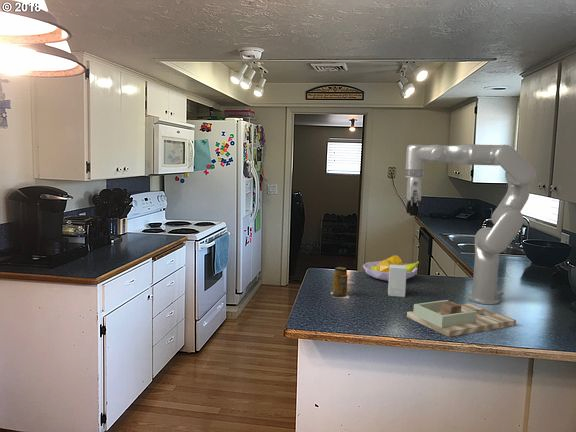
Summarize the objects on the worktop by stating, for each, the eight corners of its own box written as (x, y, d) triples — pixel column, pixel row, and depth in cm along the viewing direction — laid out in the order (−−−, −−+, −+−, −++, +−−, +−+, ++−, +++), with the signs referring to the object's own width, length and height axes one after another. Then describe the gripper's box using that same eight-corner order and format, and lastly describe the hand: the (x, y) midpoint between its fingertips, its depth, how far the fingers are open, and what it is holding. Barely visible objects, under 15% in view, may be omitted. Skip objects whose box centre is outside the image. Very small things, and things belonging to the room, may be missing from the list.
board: (469, 308, 198) (470, 303, 198) (515, 325, 178) (516, 320, 178) (406, 317, 184) (407, 311, 184) (448, 337, 165) (449, 331, 164)
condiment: (346, 293, 215) (347, 266, 214) (349, 298, 207) (350, 270, 206) (330, 292, 215) (331, 266, 214) (332, 298, 207) (333, 270, 205)
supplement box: (405, 297, 211) (407, 268, 210) (387, 295, 213) (389, 267, 211) (404, 292, 218) (406, 265, 217) (387, 291, 220) (389, 263, 218)
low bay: (446, 310, 188) (446, 299, 187) (476, 322, 174) (477, 311, 174) (413, 314, 181) (413, 304, 181) (441, 327, 168) (442, 316, 167)
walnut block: (450, 314, 182) (451, 301, 182) (460, 318, 178) (461, 305, 177) (440, 316, 180) (441, 303, 180) (450, 320, 176) (451, 307, 175)
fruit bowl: (351, 275, 249) (352, 253, 247) (392, 270, 262) (393, 249, 261) (388, 288, 225) (389, 264, 223) (431, 282, 238) (432, 259, 236)
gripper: (427, 175, 197) (424, 217, 199) (420, 173, 214) (417, 212, 216) (408, 174, 197) (405, 216, 199) (402, 173, 214) (400, 211, 217)
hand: (411, 214), depth 208 cm, fingers open, 9 cm apart
